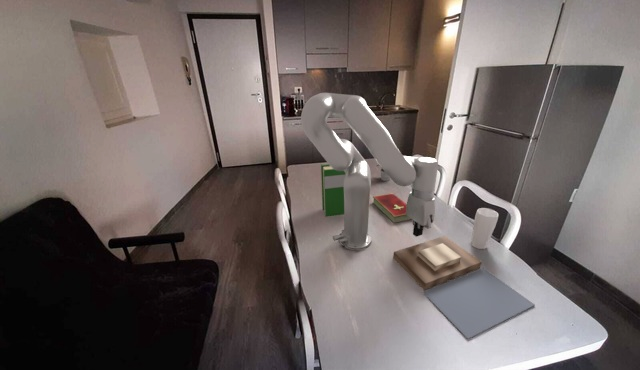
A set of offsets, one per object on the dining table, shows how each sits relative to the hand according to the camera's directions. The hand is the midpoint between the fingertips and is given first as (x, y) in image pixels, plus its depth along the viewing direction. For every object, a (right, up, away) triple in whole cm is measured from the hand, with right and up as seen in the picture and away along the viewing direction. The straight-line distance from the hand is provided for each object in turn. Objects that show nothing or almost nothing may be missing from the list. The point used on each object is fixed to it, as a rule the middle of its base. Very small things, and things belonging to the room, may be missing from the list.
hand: (417, 234), depth 95 cm
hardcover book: (-1, +6, +28) cm, 28 cm away
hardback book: (-27, +6, +29) cm, 40 cm away
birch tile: (+4, -6, -9) cm, 12 cm away
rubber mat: (+9, -15, -21) cm, 28 cm away
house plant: (+3, +23, +63) cm, 67 cm away
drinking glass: (+24, -5, +1) cm, 24 cm away
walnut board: (+3, -9, -7) cm, 12 cm away
